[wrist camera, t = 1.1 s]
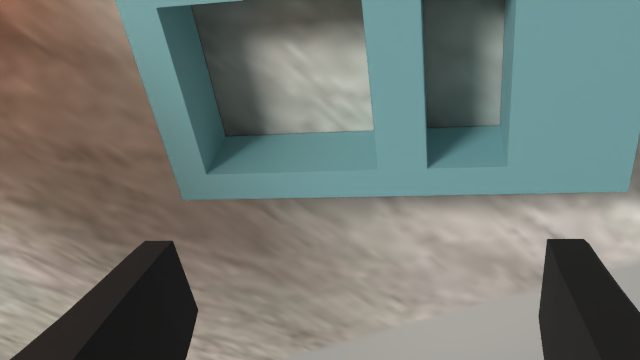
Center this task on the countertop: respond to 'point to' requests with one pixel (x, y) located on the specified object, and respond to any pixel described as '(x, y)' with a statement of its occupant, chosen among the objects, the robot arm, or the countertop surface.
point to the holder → (414, 110)
